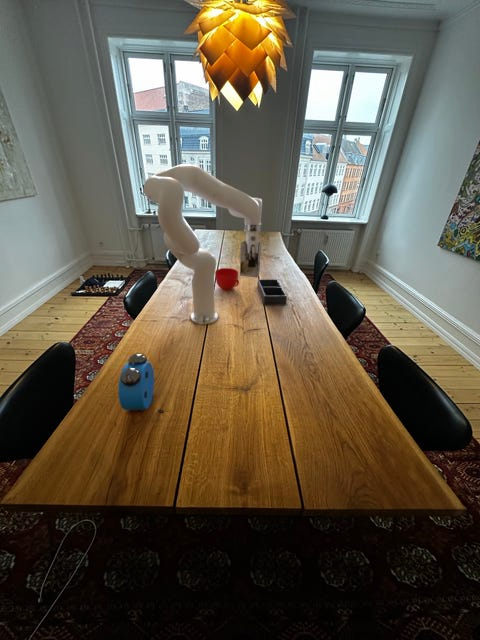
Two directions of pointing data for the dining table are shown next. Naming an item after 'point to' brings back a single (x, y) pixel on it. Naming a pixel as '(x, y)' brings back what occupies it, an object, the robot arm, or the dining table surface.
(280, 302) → the black divided tray
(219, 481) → the dining table surface
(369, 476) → the dining table surface
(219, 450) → the dining table surface
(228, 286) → the ceramic cup
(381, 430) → the dining table surface
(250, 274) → the coffee box
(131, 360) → the alarm clock
